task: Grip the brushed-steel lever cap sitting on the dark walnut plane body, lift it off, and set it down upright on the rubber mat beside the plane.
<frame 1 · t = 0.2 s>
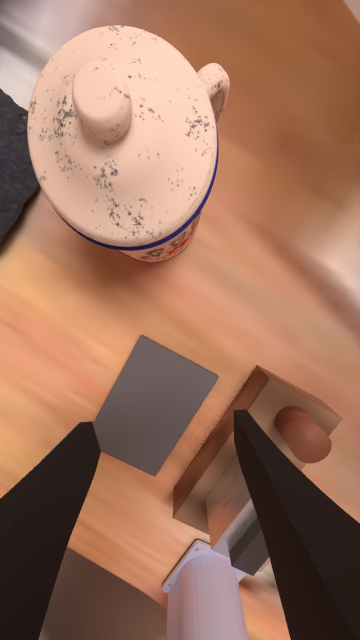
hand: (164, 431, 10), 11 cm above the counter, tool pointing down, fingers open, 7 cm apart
plane body: (243, 446, 22), on the counter
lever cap: (246, 478, 19), point 3 cm above the counter, touching plane body
rubber mat: (149, 408, 22), on the counter
teacup with lid: (163, 201, 18), on the counter
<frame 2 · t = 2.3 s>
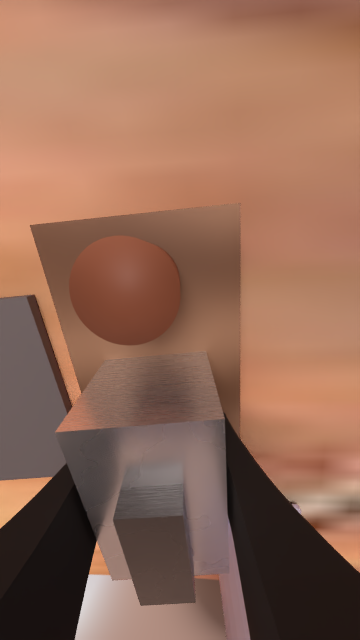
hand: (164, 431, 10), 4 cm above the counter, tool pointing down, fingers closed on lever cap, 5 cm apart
plane body: (166, 373, 13), on the counter
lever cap: (165, 421, 11), point 3 cm above the counter, touching gripper, plane body
rubber mat: (4, 399, 14), on the counter
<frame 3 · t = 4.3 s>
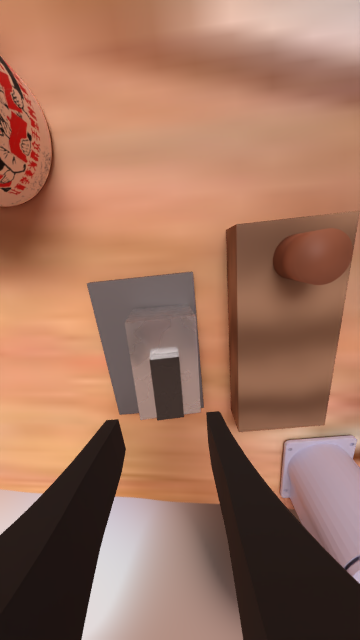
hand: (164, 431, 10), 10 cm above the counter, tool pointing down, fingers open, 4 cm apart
plane body: (271, 328, 19), on the counter
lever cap: (165, 348, 18), point 1 cm above the counter, tilted 5°, touching rubber mat
rubber mat: (152, 349, 19), on the counter
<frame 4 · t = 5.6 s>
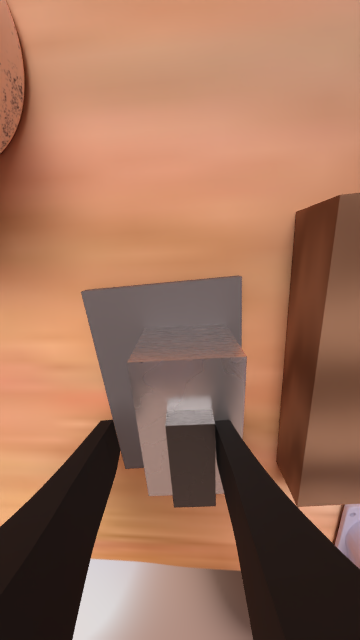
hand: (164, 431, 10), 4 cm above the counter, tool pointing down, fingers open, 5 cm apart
plane body: (346, 358, 13), on the counter
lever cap: (188, 383, 13), point 1 cm above the counter, touching gripper, rubber mat
rubber mat: (173, 384, 14), on the counter
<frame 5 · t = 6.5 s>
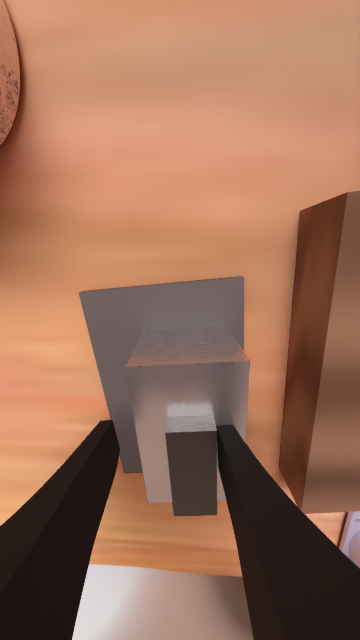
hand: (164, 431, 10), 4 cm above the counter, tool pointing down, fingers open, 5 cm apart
plane body: (351, 361, 13), on the counter
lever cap: (188, 386, 13), point 1 cm above the counter, touching gripper, rubber mat
rubber mat: (173, 387, 13), on the counter
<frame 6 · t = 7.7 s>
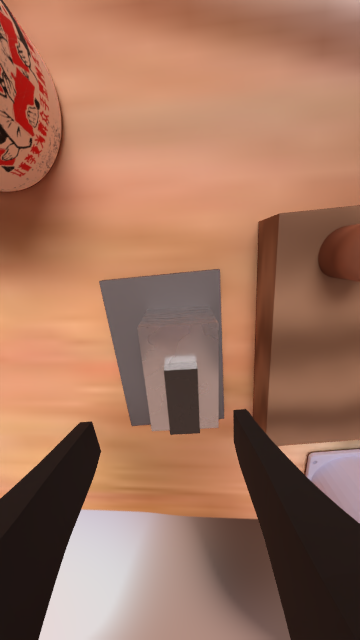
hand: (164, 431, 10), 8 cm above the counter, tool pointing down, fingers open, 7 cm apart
plane body: (302, 332, 17), on the counter
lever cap: (181, 353, 17), point 1 cm above the counter, touching rubber mat
rubber mat: (169, 355, 17), on the counter
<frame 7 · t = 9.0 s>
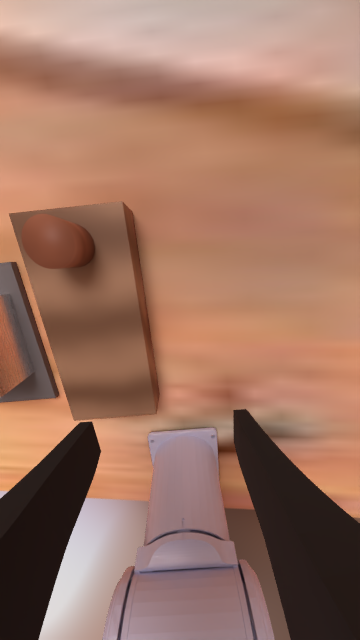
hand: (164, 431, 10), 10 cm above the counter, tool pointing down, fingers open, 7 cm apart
plane body: (106, 319, 19), on the counter
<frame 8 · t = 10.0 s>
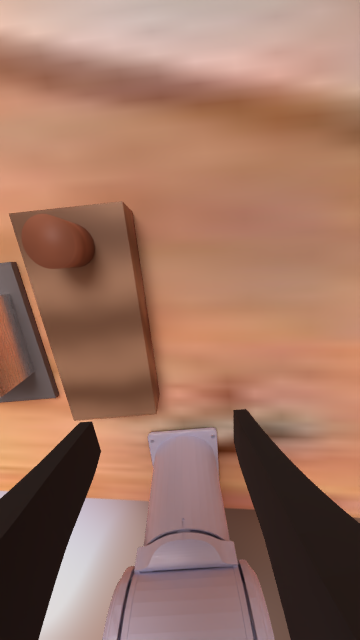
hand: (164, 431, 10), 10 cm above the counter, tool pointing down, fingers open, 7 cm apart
plane body: (106, 319, 19), on the counter
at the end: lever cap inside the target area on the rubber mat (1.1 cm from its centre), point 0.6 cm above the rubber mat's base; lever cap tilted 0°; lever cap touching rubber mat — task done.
